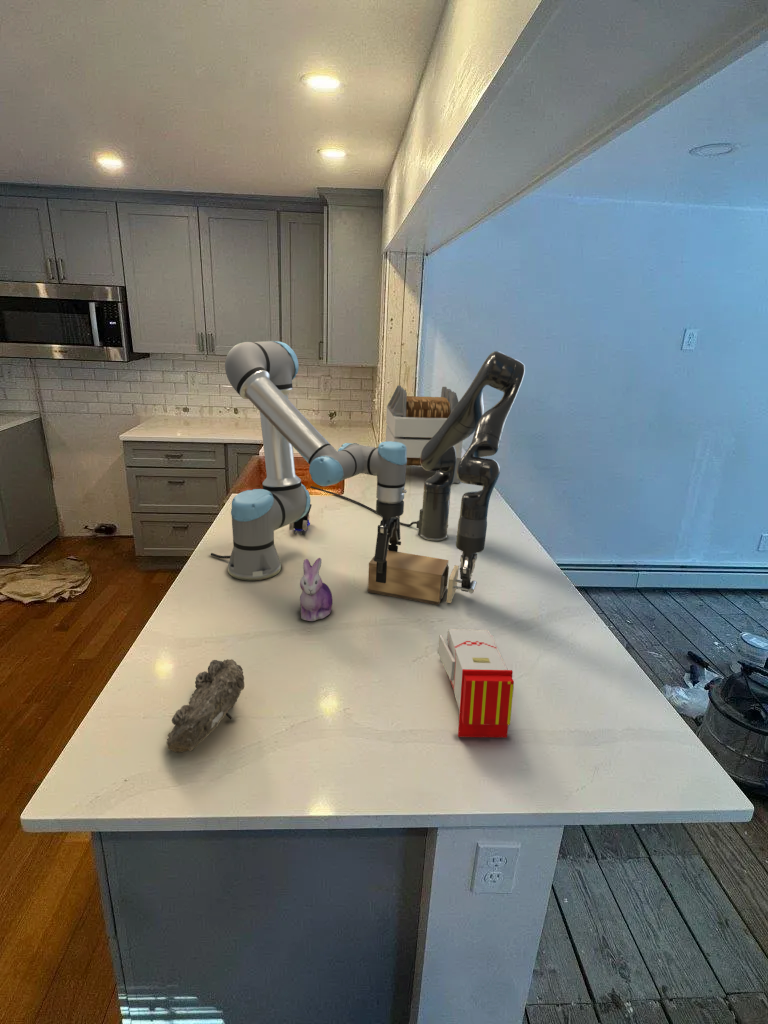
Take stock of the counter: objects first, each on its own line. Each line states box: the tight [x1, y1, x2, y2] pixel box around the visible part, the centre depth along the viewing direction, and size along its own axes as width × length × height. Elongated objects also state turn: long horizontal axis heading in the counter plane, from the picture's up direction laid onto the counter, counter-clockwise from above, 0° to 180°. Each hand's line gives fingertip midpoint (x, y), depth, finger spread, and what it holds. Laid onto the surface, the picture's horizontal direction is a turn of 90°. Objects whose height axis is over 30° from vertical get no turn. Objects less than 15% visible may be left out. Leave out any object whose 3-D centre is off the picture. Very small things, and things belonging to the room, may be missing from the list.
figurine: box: [299, 557, 333, 622], centre depth 143 cm, size 9×10×15 cm
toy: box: [437, 628, 515, 738], centre depth 117 cm, size 12×13×30 cm
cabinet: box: [367, 550, 450, 606], centre depth 159 cm, size 20×10×9 cm, turn 73°
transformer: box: [384, 384, 464, 484], centre depth 268 cm, size 34×33×41 cm
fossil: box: [166, 658, 245, 754], centre depth 106 cm, size 22×10×15 cm
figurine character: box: [288, 503, 313, 535], centre depth 199 cm, size 7×8×15 cm
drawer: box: [440, 564, 477, 604], centre depth 157 cm, size 25×9×7 cm, turn 73°
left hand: (386, 573), depth 160 cm, fingers closed on cabinet, 10 cm apart
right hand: (465, 590), depth 155 cm, fingers closed
